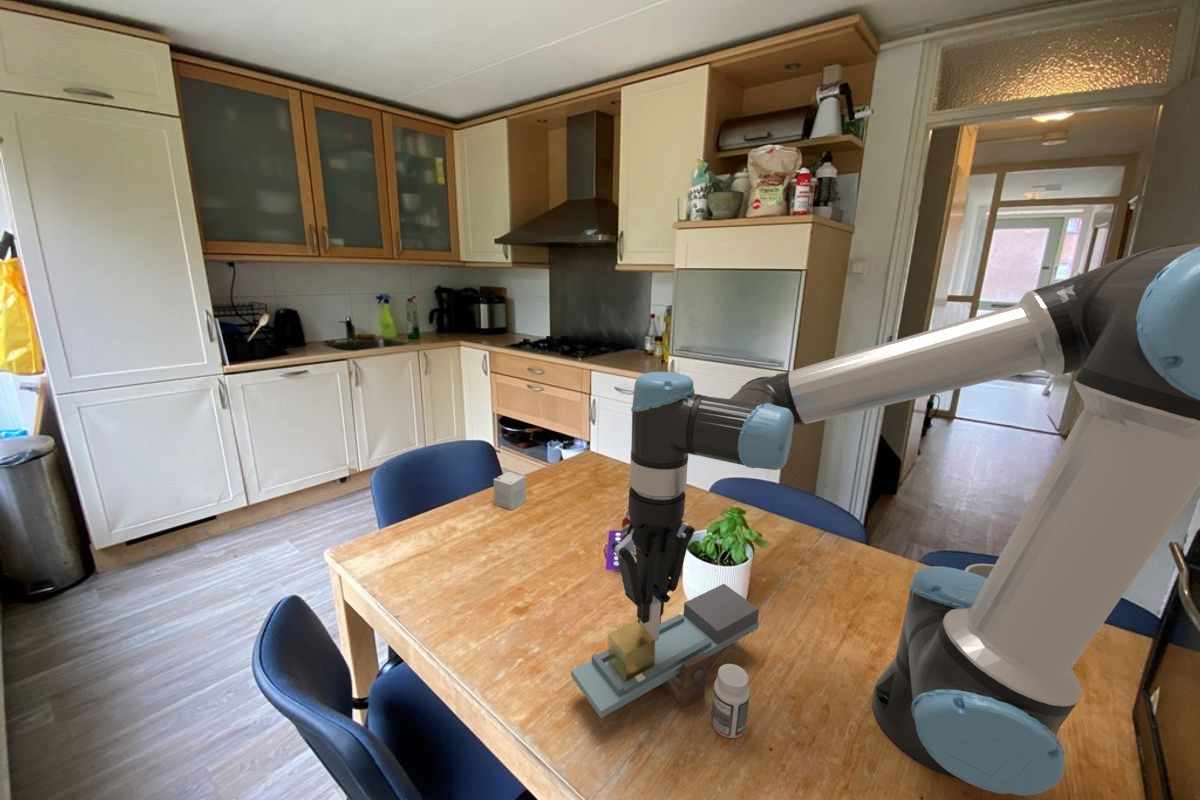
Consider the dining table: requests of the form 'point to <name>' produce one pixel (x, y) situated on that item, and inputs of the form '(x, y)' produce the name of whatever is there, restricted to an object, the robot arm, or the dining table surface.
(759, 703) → the dining table surface
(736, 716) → the pill bottle
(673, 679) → the fulcrum stand
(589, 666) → the beam
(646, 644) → the rider
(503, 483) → the skincare box
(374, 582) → the dining table surface
